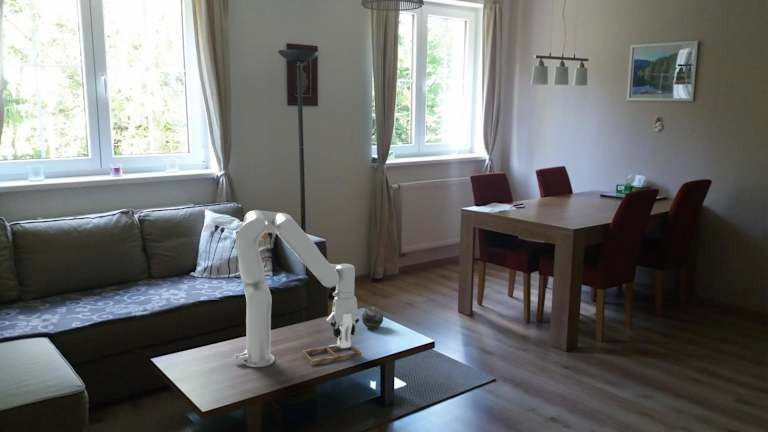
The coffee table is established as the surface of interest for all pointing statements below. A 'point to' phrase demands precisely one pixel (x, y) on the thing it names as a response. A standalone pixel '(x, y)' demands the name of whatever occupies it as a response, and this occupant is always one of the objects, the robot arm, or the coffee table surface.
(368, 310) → the decorative stone
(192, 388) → the coffee table surface
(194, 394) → the coffee table surface
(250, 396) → the coffee table surface
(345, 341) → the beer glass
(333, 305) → the robot arm
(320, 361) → the coaster frame
